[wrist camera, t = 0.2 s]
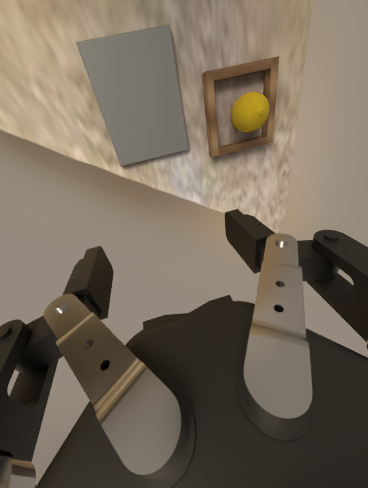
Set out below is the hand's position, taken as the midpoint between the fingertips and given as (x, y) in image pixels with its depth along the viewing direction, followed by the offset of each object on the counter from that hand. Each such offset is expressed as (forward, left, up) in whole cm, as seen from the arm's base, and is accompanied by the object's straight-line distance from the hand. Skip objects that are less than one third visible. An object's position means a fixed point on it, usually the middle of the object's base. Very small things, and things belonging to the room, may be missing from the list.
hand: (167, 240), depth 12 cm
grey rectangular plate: (-9, +2, -29) cm, 30 cm away
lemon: (-4, +19, -29) cm, 35 cm away
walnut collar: (-5, +19, -29) cm, 35 cm away
